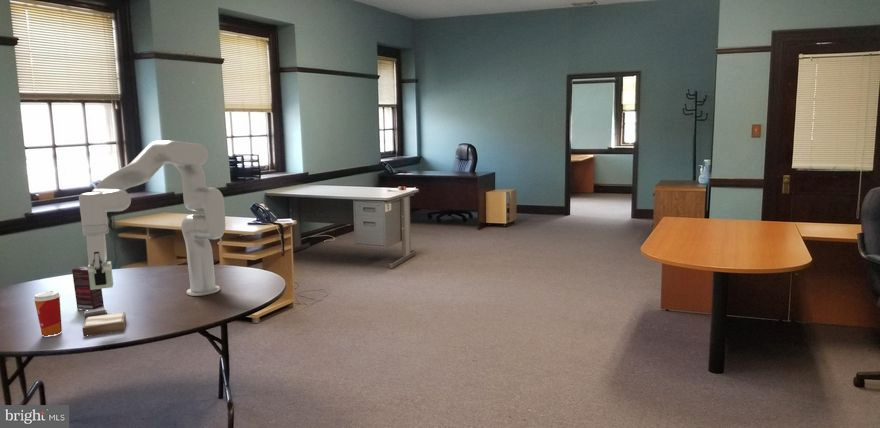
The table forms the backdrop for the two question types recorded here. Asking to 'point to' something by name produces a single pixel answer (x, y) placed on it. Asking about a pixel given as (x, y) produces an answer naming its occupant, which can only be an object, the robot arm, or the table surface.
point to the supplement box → (86, 291)
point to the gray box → (95, 312)
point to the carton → (107, 272)
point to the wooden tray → (104, 324)
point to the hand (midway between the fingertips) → (101, 282)
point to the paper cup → (49, 312)
